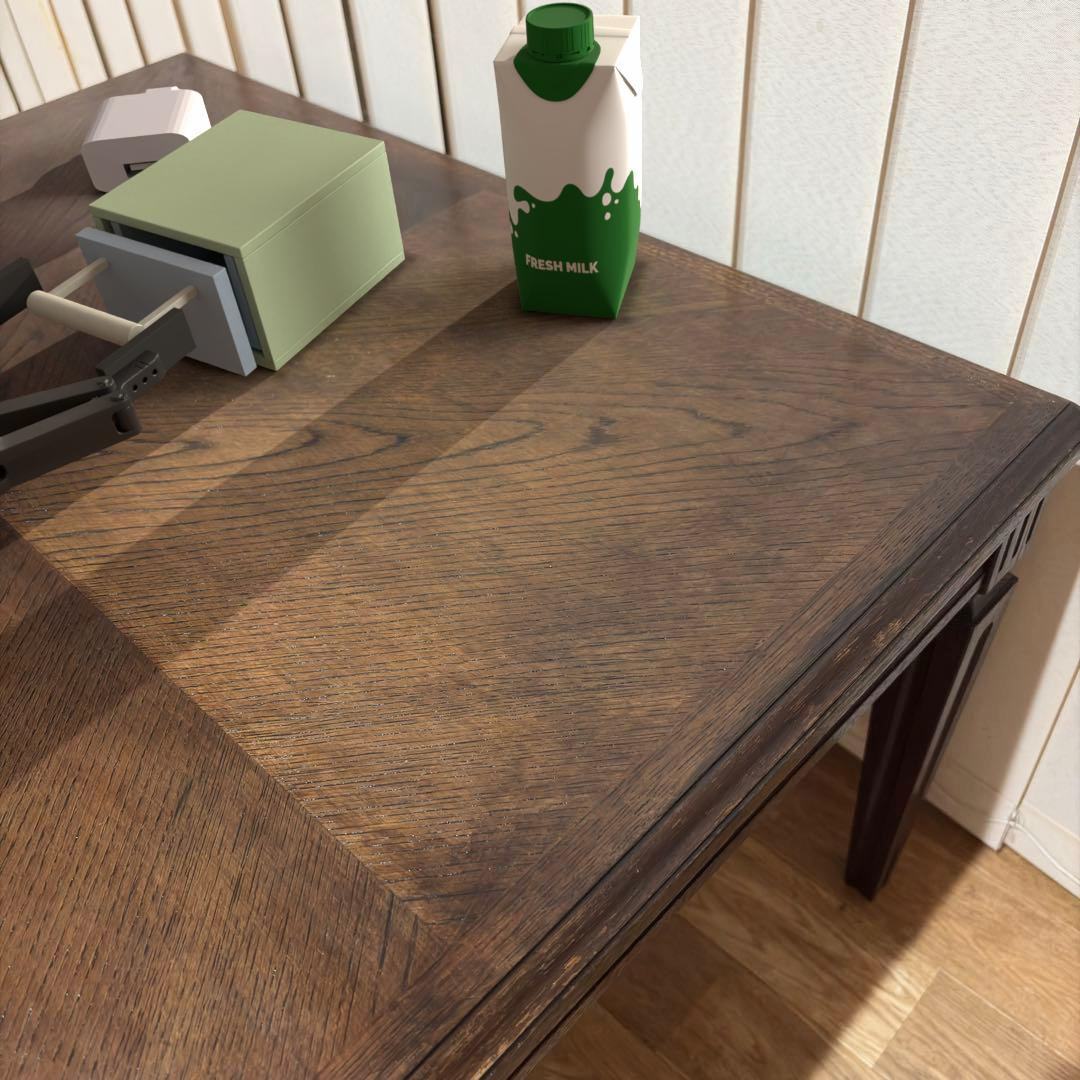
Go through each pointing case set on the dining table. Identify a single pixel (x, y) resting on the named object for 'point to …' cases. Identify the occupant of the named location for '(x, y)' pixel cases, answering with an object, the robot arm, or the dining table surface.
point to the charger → (140, 132)
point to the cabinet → (274, 218)
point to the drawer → (157, 294)
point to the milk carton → (572, 156)
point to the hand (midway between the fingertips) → (107, 300)
